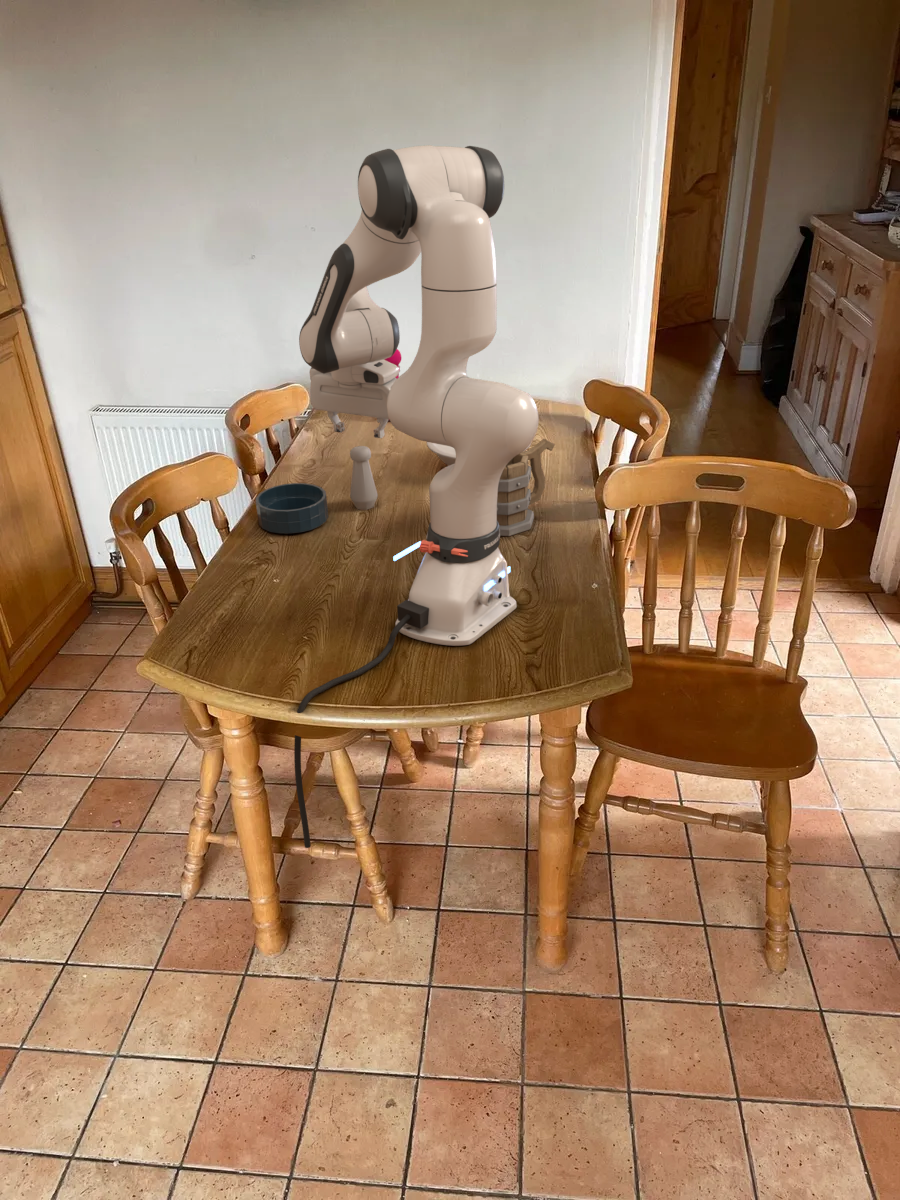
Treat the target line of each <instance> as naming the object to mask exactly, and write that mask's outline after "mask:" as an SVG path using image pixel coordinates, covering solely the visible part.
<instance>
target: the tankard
mask: <svg viewBox="0 0 900 1200" xmlns="http://www.w3.org/2000/svg"><path fill="white" fill-rule="evenodd" d="M555 445H556V443H555V442H553V441H550V440H549V439H546V438H542V439H541V440H540V441H539V442H537V444H535V445H534V446H532V447H531V448H530V449H529V450H525V451H523V452H521V453H520V454H518V455H516V456H515V457H514V458H512V459H511V460H510V461H509V462H508V464H507V465H506V466H505V468H504V470H503V472H502V474H501V477H500V480H499V484H498V494H497V521H498V523H499V529H500V537H511V536H514V535H517V534H520V533H523V532H527V531H530V530H531V528H532V526H533V522H534V518H535V512H534V511H533V510H531V509H529V506H530V505H532V504H535V503H537V502H538V501H541V499H542V496H543V493H544V491H545V489H546V476H545V473H544V469H543V467H542V454H543V452H544V451H546V450H548V451H550V452H552V451H553V449H554V447H555ZM529 463H530V465H529ZM532 477H533V480H534V483H533V484H534V485H533V488H532V491H531V489H530V488H529V484H530V482H531V481H530V480H531V478H532Z"/></svg>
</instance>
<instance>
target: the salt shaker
mask: <svg viewBox="0 0 900 1200" xmlns="http://www.w3.org/2000/svg"><path fill="white" fill-rule="evenodd" d="M349 457H350V459H351V461H352V471H351V482H350V490H349V491H350V493H349V497H350V500H351V502H352V504H353V505H354V507H355V508H356V509H357V510H362V511H363V510H365V511H367V510H370V509H373V508H374V507H375V504H376V501H377V499H378V498H379V493H378V490H377V486H376V484H375V480H374V475H373V472H372V469H371V464H370V459H371V458H372V451H371V449H370V447H368V446H365V445H358V446H354V447H352V448H351V449H350V451H349Z"/></svg>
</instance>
